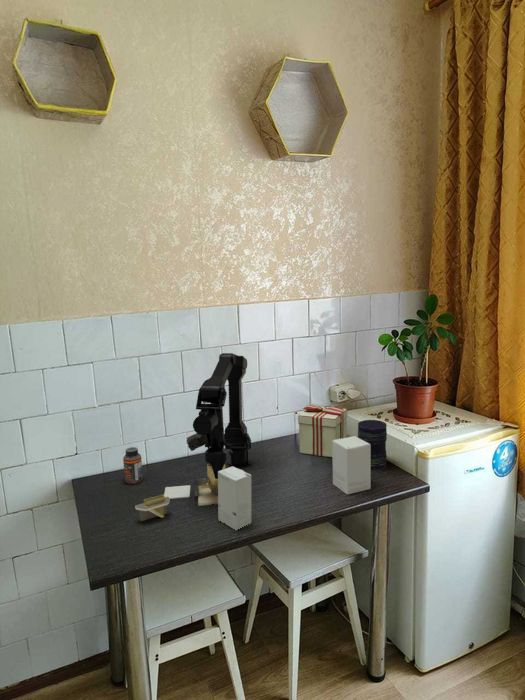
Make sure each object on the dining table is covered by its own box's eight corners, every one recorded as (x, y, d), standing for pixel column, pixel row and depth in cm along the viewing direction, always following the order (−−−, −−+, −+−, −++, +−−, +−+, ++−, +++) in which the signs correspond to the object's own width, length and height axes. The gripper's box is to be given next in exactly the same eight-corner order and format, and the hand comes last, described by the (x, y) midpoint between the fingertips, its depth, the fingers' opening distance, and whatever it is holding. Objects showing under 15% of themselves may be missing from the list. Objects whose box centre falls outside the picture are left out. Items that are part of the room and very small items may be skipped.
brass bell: (232, 481, 159) (231, 459, 158) (233, 488, 153) (232, 466, 152) (201, 483, 158) (200, 461, 156) (201, 491, 152) (199, 468, 151)
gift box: (349, 442, 198) (349, 400, 195) (339, 459, 181) (339, 413, 178) (308, 438, 204) (307, 397, 201) (294, 454, 187) (293, 410, 184)
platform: (192, 519, 142) (190, 498, 141) (129, 538, 133) (127, 516, 132) (177, 503, 153) (175, 483, 151) (118, 520, 144) (116, 499, 142)
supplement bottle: (121, 482, 168) (118, 450, 166) (133, 475, 173) (130, 444, 171) (134, 485, 165) (132, 453, 163) (146, 478, 170) (144, 447, 168)
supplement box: (371, 489, 156) (371, 444, 154) (347, 495, 153) (346, 449, 150) (355, 478, 164) (355, 435, 162) (332, 483, 161) (331, 439, 158)
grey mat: (190, 486, 163) (190, 485, 163) (189, 497, 155) (189, 496, 155) (165, 488, 162) (165, 487, 162) (163, 499, 154) (163, 498, 154)
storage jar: (364, 457, 181) (364, 418, 179) (390, 463, 176) (391, 422, 173) (353, 467, 174) (352, 426, 171) (379, 473, 168) (380, 430, 165)
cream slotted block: (238, 484, 163) (238, 469, 162) (241, 502, 151) (240, 485, 150) (195, 488, 161) (194, 472, 160) (194, 506, 149) (193, 489, 148)
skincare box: (218, 521, 140) (215, 471, 138) (234, 513, 144) (232, 464, 142) (237, 531, 134) (234, 480, 132) (253, 523, 138) (251, 473, 136)
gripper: (188, 416, 160) (191, 462, 163) (186, 436, 142) (189, 487, 145) (223, 414, 162) (225, 459, 164) (225, 433, 143) (227, 484, 146)
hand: (216, 472), depth 155 cm, fingers open, 9 cm apart
